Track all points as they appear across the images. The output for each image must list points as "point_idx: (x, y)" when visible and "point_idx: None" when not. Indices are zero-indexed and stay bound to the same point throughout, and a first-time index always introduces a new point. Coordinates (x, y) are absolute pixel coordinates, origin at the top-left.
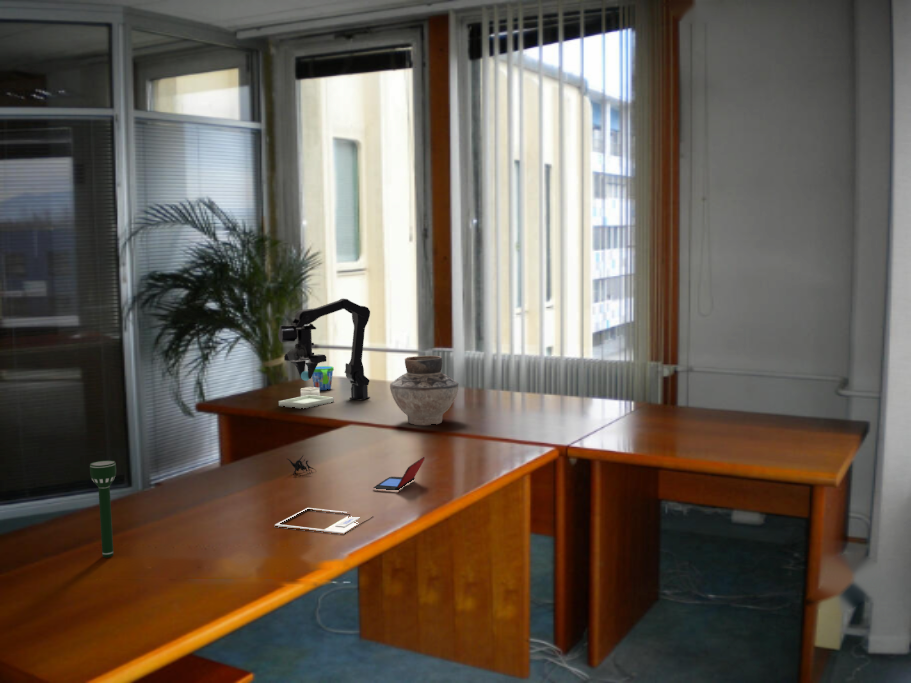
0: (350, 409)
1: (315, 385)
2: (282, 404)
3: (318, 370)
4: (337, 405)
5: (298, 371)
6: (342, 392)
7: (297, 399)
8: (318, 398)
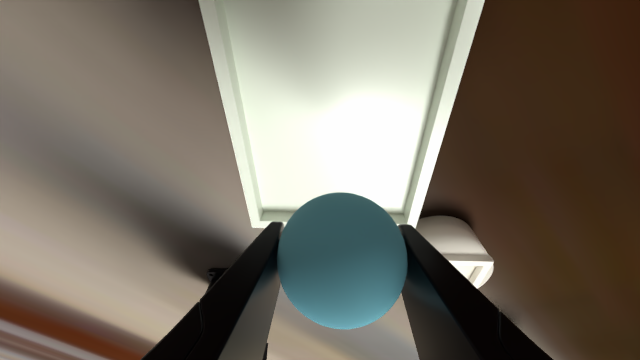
0: (6, 108)
1: None
2: None
3: None
4: (171, 163)
5: (477, 292)
6: (379, 327)
7: (424, 143)
8: None
